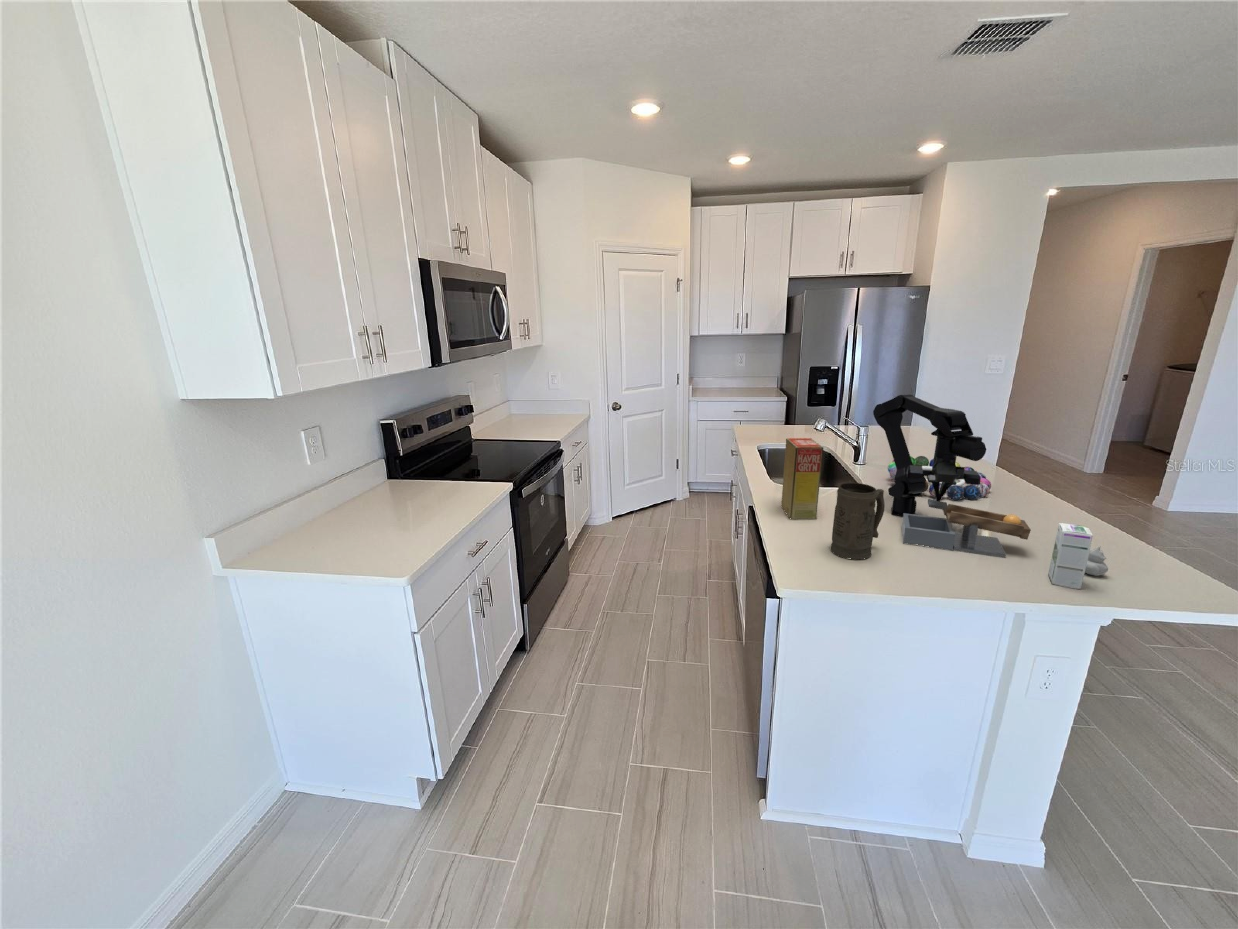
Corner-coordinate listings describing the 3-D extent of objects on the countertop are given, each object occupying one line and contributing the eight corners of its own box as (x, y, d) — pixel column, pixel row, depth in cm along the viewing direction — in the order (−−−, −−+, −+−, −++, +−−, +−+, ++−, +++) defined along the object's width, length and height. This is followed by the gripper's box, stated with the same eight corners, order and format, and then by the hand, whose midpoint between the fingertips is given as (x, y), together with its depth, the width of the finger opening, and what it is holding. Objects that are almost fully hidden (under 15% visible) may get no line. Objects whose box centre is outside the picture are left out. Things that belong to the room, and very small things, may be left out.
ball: (1001, 520, 140) (1018, 515, 138) (998, 515, 143) (1015, 510, 141) (1008, 533, 140) (1025, 528, 138) (1005, 527, 143) (1021, 523, 141)
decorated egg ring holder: (988, 521, 175) (996, 498, 171) (879, 496, 191) (884, 474, 188) (983, 486, 202) (990, 465, 199) (888, 467, 219) (893, 447, 216)
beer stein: (851, 564, 137) (863, 494, 132) (820, 549, 147) (829, 483, 142) (888, 554, 144) (900, 488, 139) (855, 541, 154) (866, 478, 149)
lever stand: (953, 550, 144) (958, 524, 141) (948, 534, 154) (952, 509, 152) (1005, 557, 138) (1010, 531, 136) (996, 540, 149) (1001, 515, 147)
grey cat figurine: (1103, 581, 125) (1111, 552, 123) (1068, 571, 130) (1075, 543, 128) (1108, 574, 128) (1115, 545, 126) (1074, 565, 134) (1081, 537, 131)
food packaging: (818, 519, 168) (824, 447, 161) (789, 519, 168) (794, 447, 162) (806, 505, 181) (811, 437, 174) (779, 505, 181) (784, 437, 174)
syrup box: (1081, 590, 122) (1095, 534, 118) (1050, 584, 125) (1062, 530, 121) (1076, 579, 126) (1090, 526, 122) (1046, 574, 129) (1058, 521, 125)
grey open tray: (903, 543, 149) (905, 527, 148) (901, 527, 160) (903, 513, 158) (952, 550, 144) (955, 534, 142) (947, 534, 154) (949, 518, 153)
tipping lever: (932, 519, 146) (935, 508, 145) (927, 501, 160) (930, 491, 159) (1027, 539, 137) (1031, 528, 136) (1013, 518, 151) (1017, 508, 150)
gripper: (911, 456, 149) (904, 505, 154) (988, 462, 141) (978, 514, 146) (909, 447, 159) (903, 494, 163) (981, 452, 151) (972, 501, 155)
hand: (937, 500), depth 156 cm, fingers closed
